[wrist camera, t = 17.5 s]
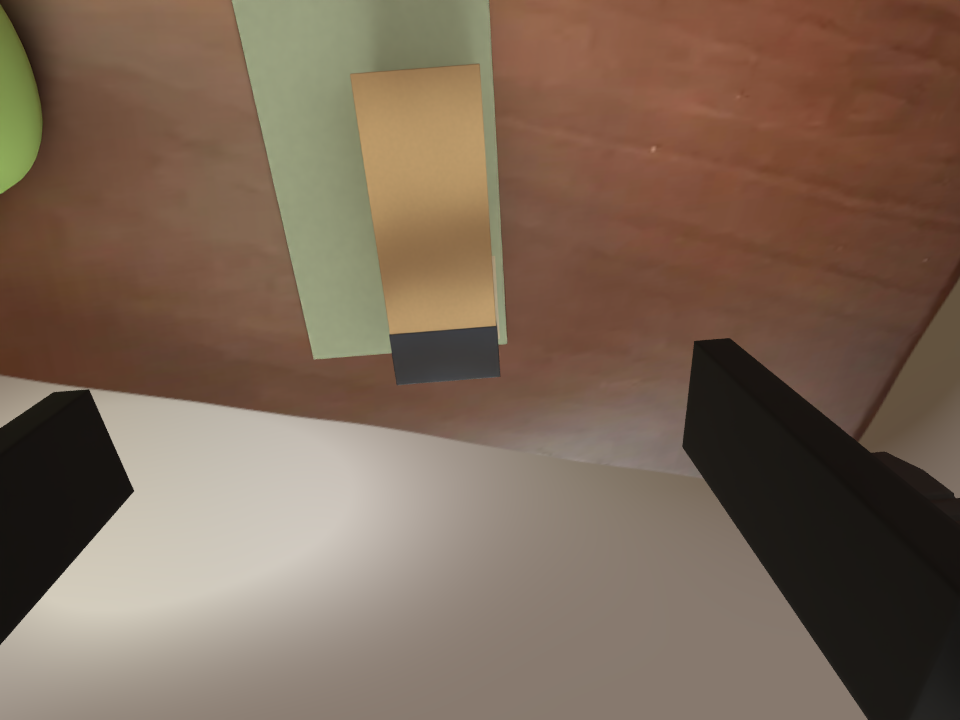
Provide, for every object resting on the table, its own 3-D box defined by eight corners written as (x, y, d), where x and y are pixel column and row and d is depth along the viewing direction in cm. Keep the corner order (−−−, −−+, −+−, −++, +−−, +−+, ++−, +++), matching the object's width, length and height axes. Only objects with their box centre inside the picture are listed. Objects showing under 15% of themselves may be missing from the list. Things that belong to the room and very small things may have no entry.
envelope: (506, 342, 38) (507, 344, 37) (315, 357, 38) (313, 360, 37) (484, -72, 28) (485, -75, 27) (222, -52, 28) (218, -54, 27)
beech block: (372, 84, 30) (348, 73, 24) (476, 76, 30) (481, 63, 24) (407, 339, 37) (396, 385, 30) (493, 333, 37) (500, 377, 30)
